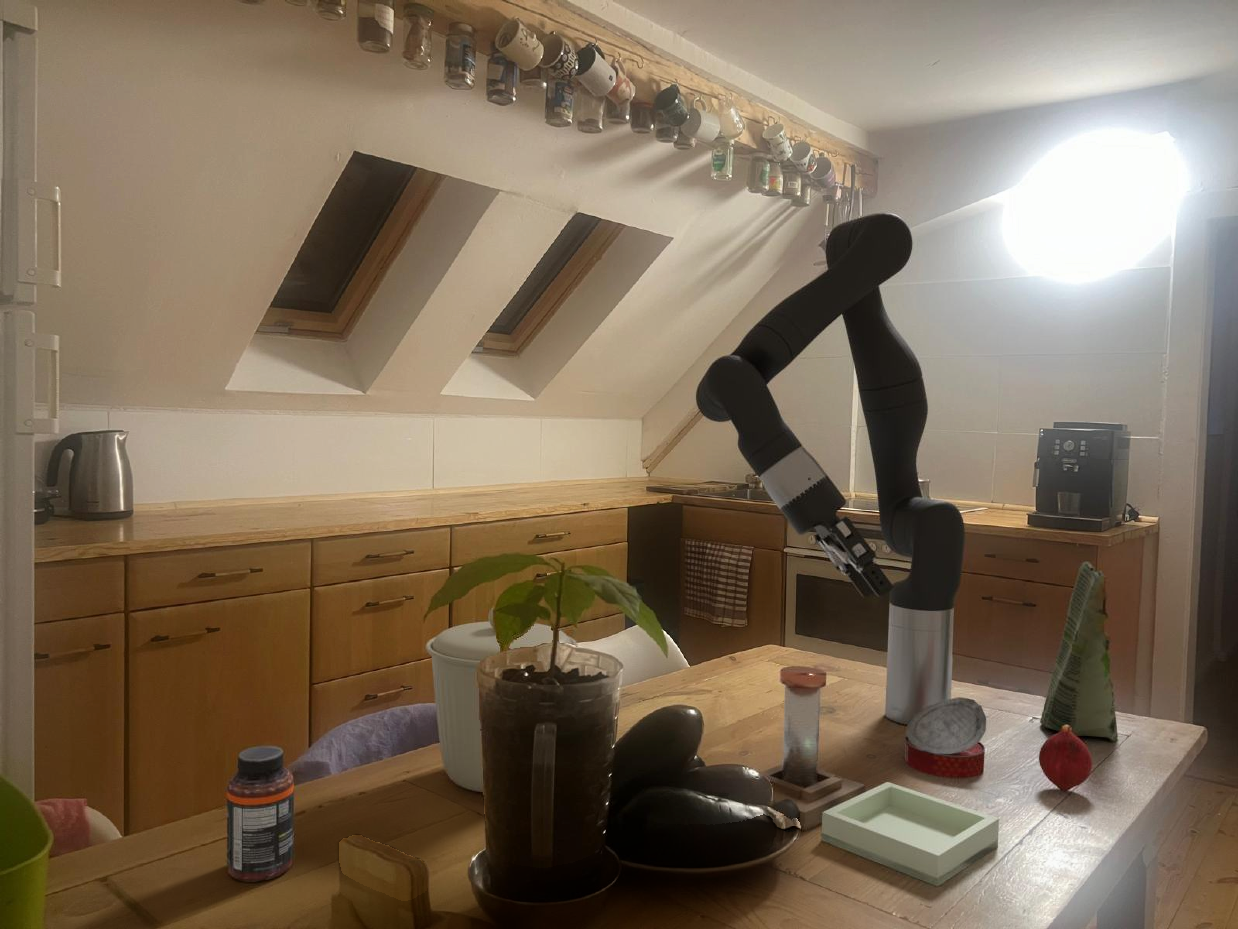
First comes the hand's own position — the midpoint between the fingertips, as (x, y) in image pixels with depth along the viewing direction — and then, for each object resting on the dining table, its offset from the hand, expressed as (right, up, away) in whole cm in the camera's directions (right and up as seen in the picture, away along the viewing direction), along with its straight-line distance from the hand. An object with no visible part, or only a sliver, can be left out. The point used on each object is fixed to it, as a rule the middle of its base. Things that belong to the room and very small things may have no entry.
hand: (878, 593), depth 118 cm
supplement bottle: (-67, -22, -30) cm, 77 cm away
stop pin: (-12, -21, -11) cm, 26 cm away
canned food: (+9, -23, +3) cm, 25 cm away
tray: (-2, -23, -21) cm, 31 cm away
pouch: (+34, -23, +18) cm, 45 cm away
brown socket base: (-12, -23, -10) cm, 28 cm away
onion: (+21, -24, -5) cm, 32 cm away
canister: (-47, -22, -5) cm, 52 cm away
